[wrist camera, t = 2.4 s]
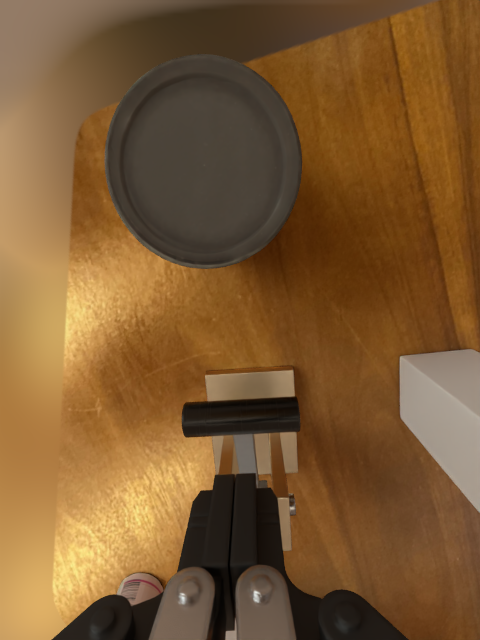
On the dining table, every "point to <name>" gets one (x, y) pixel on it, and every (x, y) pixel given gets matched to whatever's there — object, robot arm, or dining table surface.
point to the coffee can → (203, 161)
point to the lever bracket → (271, 448)
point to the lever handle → (242, 423)
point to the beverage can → (139, 588)
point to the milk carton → (446, 412)
